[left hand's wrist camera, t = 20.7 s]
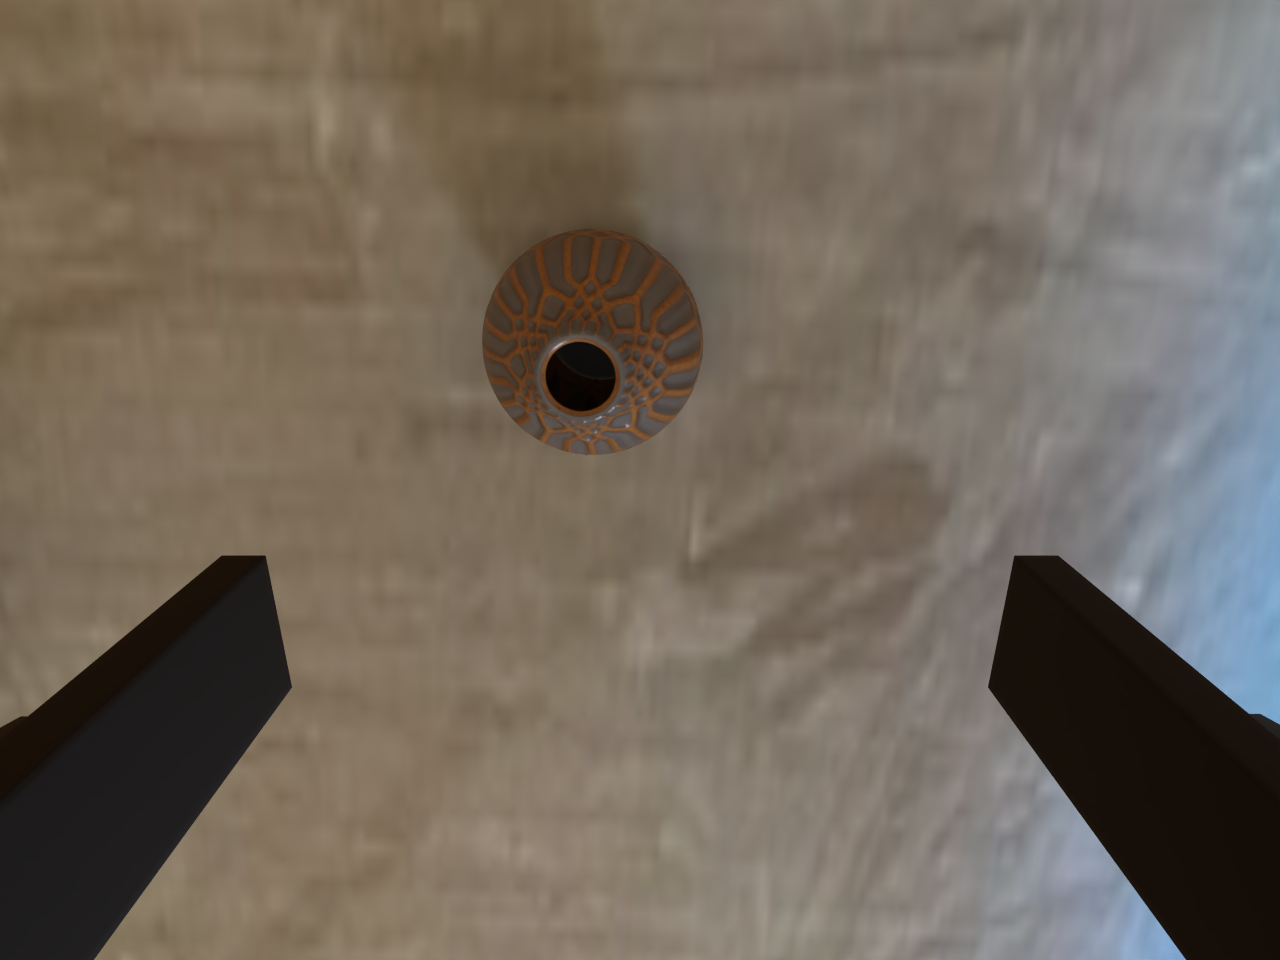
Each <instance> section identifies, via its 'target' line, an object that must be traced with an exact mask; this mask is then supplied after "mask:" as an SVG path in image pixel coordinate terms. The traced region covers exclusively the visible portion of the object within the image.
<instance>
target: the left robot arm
mask: <svg viewBox="0 0 1280 960" xmlns="http://www.w3.org/2000/svg"><path fill="white" fill-rule="evenodd" d="M291 688H292V685H291V680H290V675H289V670H288V665H287V660H286V655H285V650H284V645H283V640H282V635H281V630H280V625H279V620H278V615H277V610H276V605H275V600H274V595H273V591H272V586H271V581H270V576H269V571H268V566H267V561H266V556H221V557H220V558H218V559H217V560H216V561H215V562H214V563H212V564H211V565H210V566H209V567H208V568H206V569H205V570H204V571H203V572H202V573H200V574H199V575H198V576H197V577H195V578H194V579H193V580H192V581H191V582H189V583H188V584H187V585H186V586H185V587H183V588H182V589H181V590H180V591H179V592H177V593H176V594H175V595H174V596H173V597H171V598H170V599H169V600H168V601H167V602H165V603H164V604H163V605H162V606H161V607H159V608H158V609H157V610H156V611H155V612H153V613H152V614H151V615H150V616H149V617H147V618H146V619H145V620H144V621H142V622H141V623H140V624H139V625H138V626H136V627H135V628H134V629H133V630H132V631H130V632H129V633H128V634H127V635H126V636H124V637H123V638H122V639H121V640H120V641H118V642H117V643H116V644H115V645H114V646H112V647H111V648H110V649H109V650H108V651H106V652H105V653H104V654H103V655H102V656H100V657H99V658H98V659H97V660H95V661H94V662H93V663H92V664H91V665H89V666H88V667H87V668H86V669H85V670H83V671H82V672H81V673H80V674H79V675H77V676H76V677H75V678H74V679H73V680H71V681H70V682H69V683H68V684H67V685H65V686H64V687H63V688H62V689H61V690H59V691H58V692H57V693H56V694H55V695H53V696H52V697H51V698H50V699H49V700H47V701H46V702H45V703H44V704H42V705H41V706H40V707H39V708H38V709H36V710H35V711H34V712H33V713H32V714H30V715H29V716H28V717H19V718H17V719H15V720H13V721H12V722H10V723H8V724H6V725H4V726H3V727H1V728H0V960H94V959H95V957H96V956H97V955H98V953H99V952H100V951H101V949H102V948H103V946H104V945H105V944H106V942H107V941H108V940H109V938H110V937H111V935H112V934H113V933H114V931H115V930H116V929H117V927H118V926H119V924H120V923H121V922H122V920H123V919H124V918H125V916H126V915H127V913H128V912H129V911H130V909H131V908H132V907H133V905H134V904H135V902H136V901H137V900H138V898H139V897H140V896H141V894H142V893H143V891H144V890H145V889H146V887H147V886H148V885H149V883H150V882H151V880H152V879H153V878H154V876H155V875H156V874H157V872H158V871H159V869H160V868H161V867H162V865H163V864H164V863H165V861H166V860H167V858H168V857H169V856H170V854H171V853H172V852H173V850H174V849H175V847H176V846H177V845H178V843H179V842H180V841H181V839H182V838H183V836H184V835H185V834H186V832H187V831H188V830H189V828H190V827H191V825H192V824H193V823H194V821H195V820H196V819H197V817H198V816H199V814H200V813H201V812H202V810H203V809H204V808H205V806H206V805H207V803H208V802H209V801H210V799H211V798H212V797H213V795H214V794H215V792H216V791H217V790H218V788H219V787H220V786H221V784H222V783H223V781H224V780H225V779H226V777H227V776H228V775H229V773H230V772H231V770H232V769H233V768H234V766H235V765H236V764H237V762H238V761H239V759H240V758H241V757H242V755H243V754H244V753H245V751H246V750H247V748H248V747H249V746H250V744H251V743H252V742H253V740H254V739H255V737H256V736H257V735H258V733H259V732H260V731H261V729H262V728H263V726H264V725H265V724H266V722H267V721H268V720H269V718H270V717H271V715H272V714H273V713H274V711H275V710H276V709H277V707H278V706H279V704H280V703H281V702H282V700H283V699H284V697H285V696H286V695H287V693H288V692H289V691H290V689H291ZM988 688H989V689H990V691H991V692H992V693H993V695H994V696H995V698H996V699H997V700H998V702H999V703H1000V704H1001V706H1002V707H1003V709H1004V710H1005V711H1006V713H1007V714H1008V715H1009V717H1010V718H1011V720H1012V721H1013V722H1014V724H1015V725H1016V726H1017V728H1018V729H1019V731H1020V732H1021V733H1022V735H1023V736H1024V737H1025V739H1026V740H1027V742H1028V743H1029V744H1030V746H1031V747H1032V748H1033V750H1034V751H1035V753H1036V754H1037V755H1038V757H1039V758H1040V759H1041V761H1042V762H1043V764H1044V765H1045V766H1046V768H1047V769H1048V770H1049V772H1050V773H1051V775H1052V776H1053V777H1054V779H1055V780H1056V781H1057V783H1058V784H1059V786H1060V787H1061V788H1062V790H1063V791H1064V792H1065V794H1066V795H1067V797H1068V798H1069V799H1070V801H1071V802H1072V803H1073V805H1074V806H1075V808H1076V809H1077V810H1078V812H1079V813H1080V814H1081V816H1082V817H1083V819H1084V820H1085V821H1086V823H1087V824H1088V825H1089V827H1090V828H1091V830H1092V831H1093V832H1094V834H1095V835H1096V836H1097V838H1098V839H1099V841H1100V842H1101V843H1102V845H1103V846H1104V847H1105V849H1106V850H1107V852H1108V853H1109V854H1110V856H1111V857H1112V858H1113V860H1114V861H1115V863H1116V864H1117V865H1118V867H1119V868H1120V869H1121V871H1122V872H1123V874H1124V875H1125V876H1126V878H1127V879H1128V880H1129V882H1130V883H1131V885H1132V886H1133V887H1134V889H1135V890H1136V891H1137V893H1138V894H1139V896H1140V897H1141V898H1142V900H1143V901H1144V902H1145V904H1146V905H1147V907H1148V908H1149V909H1150V911H1151V912H1152V913H1153V915H1154V916H1155V918H1156V919H1157V920H1158V922H1159V923H1160V924H1161V926H1162V927H1163V929H1164V930H1165V931H1166V933H1167V934H1168V935H1169V937H1170V938H1171V940H1172V941H1173V942H1174V944H1175V945H1176V946H1177V948H1178V949H1179V951H1180V952H1181V953H1182V955H1183V956H1184V957H1185V959H1186V960H1280V725H1279V724H1278V723H1276V722H1274V721H1272V720H1270V719H1268V718H1267V717H1265V716H1263V715H1261V714H1248V713H1247V712H1246V711H1245V710H1244V709H1242V708H1241V707H1240V706H1239V705H1238V704H1236V703H1235V702H1234V701H1233V700H1231V699H1230V698H1229V697H1228V696H1227V695H1225V694H1224V693H1223V692H1222V691H1221V690H1219V689H1218V688H1217V687H1216V686H1215V685H1213V684H1212V683H1211V682H1210V681H1209V680H1207V679H1206V678H1205V677H1204V676H1203V675H1201V674H1200V673H1199V672H1198V671H1197V670H1195V669H1194V668H1193V667H1192V666H1191V665H1189V664H1188V663H1187V662H1186V661H1184V660H1183V659H1182V658H1181V657H1180V656H1178V655H1177V654H1176V653H1175V652H1174V651H1172V650H1171V649H1170V648H1169V647H1168V646H1166V645H1165V644H1164V643H1163V642H1162V641H1160V640H1159V639H1158V638H1157V637H1156V636H1154V635H1153V634H1152V633H1151V632H1150V631H1148V630H1147V629H1146V628H1145V627H1144V626H1142V625H1141V624H1140V623H1139V622H1138V621H1136V620H1135V619H1134V618H1133V617H1131V616H1130V615H1129V614H1128V613H1127V612H1125V611H1124V610H1123V609H1122V608H1121V607H1119V606H1118V605H1117V604H1116V603H1115V602H1113V601H1112V600H1111V599H1110V598H1109V597H1107V596H1106V595H1105V594H1104V593H1103V592H1101V591H1100V590H1099V589H1098V588H1097V587H1095V586H1094V585H1093V584H1092V583H1091V582H1089V581H1088V580H1087V579H1086V578H1084V577H1083V576H1082V575H1081V574H1080V573H1078V572H1077V571H1076V570H1075V569H1074V568H1072V567H1071V566H1070V565H1069V564H1068V563H1066V562H1065V561H1064V560H1063V559H1062V558H1060V557H1059V556H1014V561H1013V566H1012V571H1011V576H1010V581H1009V586H1008V590H1007V595H1006V600H1005V605H1004V610H1003V615H1002V620H1001V625H1000V630H999V635H998V640H997V645H996V650H995V655H994V660H993V665H992V670H991V675H990V680H989V685H988Z"/></svg>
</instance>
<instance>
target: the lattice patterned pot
mask: <svg viewBox="0 0 1280 960" xmlns="http://www.w3.org/2000/svg"><path fill="white" fill-rule="evenodd" d="M482 344H483V357H484V363H485V368H486V372H487V375H488V378H489V381H490V384H491V386H492V388H493V391H494V393H495V394H496V396H497V398H498V400H499V402H500V403H501V405H502V406H503V408H504V409H505V410H506V412H507V413H508V414H509V416H510V417H511V418H512V419H513V420H514V421H515V422H516V423H517V424H518V425H519V426H520V427H521V428H522V429H524V430H525V431H526V432H527V433H529V434H530V435H532V436H533V437H535V438H536V439H538V440H540V441H542V442H543V443H545V444H547V445H550V446H552V447H555V448H557V449H560V450H564V451H567V452H572V453H578V454H589V455H597V454H608V453H614V452H618V451H622V450H625V449H628V448H631V447H634V446H636V445H638V444H641V443H642V442H644V441H646V440H648V439H650V438H651V437H653V436H654V435H656V434H657V433H658V432H660V431H661V430H662V429H663V428H664V427H666V426H667V425H668V424H669V423H670V422H671V421H672V420H673V419H674V418H675V417H676V415H677V414H678V413H679V412H680V410H681V409H682V408H683V406H684V405H685V403H686V401H687V400H688V398H689V396H690V394H691V392H692V390H693V388H694V385H695V383H696V380H697V377H698V374H699V370H700V366H701V361H702V353H703V335H702V326H701V320H700V316H699V312H698V308H697V305H696V302H695V300H694V297H693V295H692V293H691V291H690V289H689V287H688V285H687V284H686V282H685V280H684V279H683V277H682V276H681V275H680V273H679V272H678V271H677V270H676V268H675V267H674V266H673V265H672V264H671V263H670V262H669V261H668V260H667V259H666V258H665V257H664V256H662V255H661V254H660V253H659V252H658V251H656V250H655V249H653V248H652V247H650V246H649V245H647V244H645V243H644V242H642V241H640V240H637V239H635V238H633V237H630V236H628V235H624V234H621V233H617V232H613V231H606V230H595V229H589V230H577V231H571V232H566V233H562V234H559V235H556V236H553V237H551V238H548V239H546V240H544V241H542V242H540V243H539V244H537V245H535V246H534V247H532V248H531V249H529V250H528V251H526V252H525V253H524V254H523V255H521V256H520V257H519V258H518V259H517V260H516V261H515V262H514V263H513V264H512V265H511V266H510V267H509V268H508V270H507V271H506V272H505V273H504V275H503V276H502V278H501V279H500V281H499V282H498V284H497V286H496V288H495V290H494V292H493V294H492V296H491V299H490V302H489V304H488V307H487V311H486V314H485V319H484V325H483V336H482Z"/></svg>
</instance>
